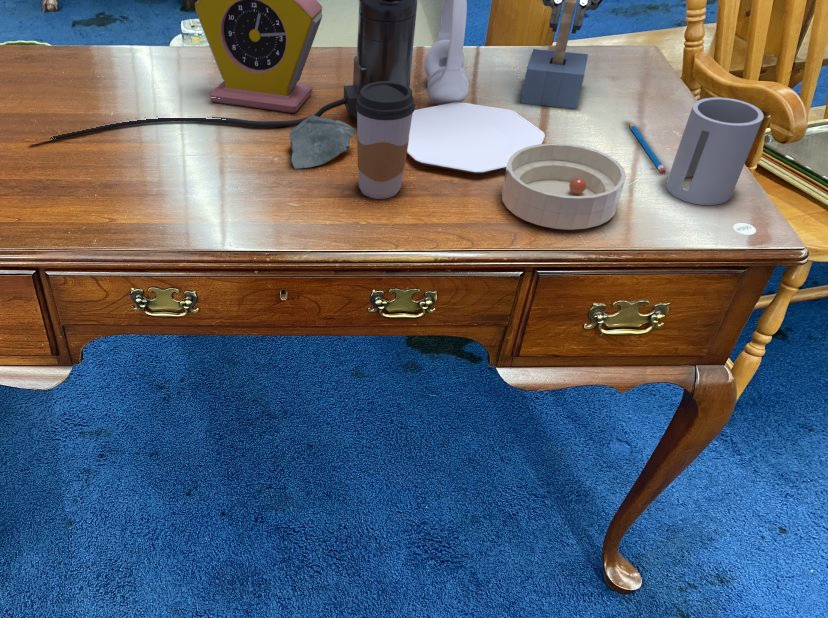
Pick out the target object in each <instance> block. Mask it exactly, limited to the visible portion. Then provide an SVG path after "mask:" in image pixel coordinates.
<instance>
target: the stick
mask: <svg viewBox="0 0 828 618" xmlns="http://www.w3.org/2000/svg"><path fill="white" fill-rule="evenodd" d="M577 1H578V0H564V5H563V8H562V9H563V10H562V12H561V19H560V23H559V28H558V33H557V38H556V43H555V46H554V51H555V52H554V56H553V61H552V64H559V65H563V61H564V56H565V52H567V47H568V43H569V37H570V33H571V30H572V25H573V21H574V16H575V12H576V7H577V6H576V5H577Z"/></svg>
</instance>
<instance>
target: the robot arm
mask: <svg viewBox="0 0 828 618" xmlns="http://www.w3.org/2000/svg"><path fill="white" fill-rule="evenodd" d="M603 1H604V0H578V5H577V6H576V9H575V14H574V18H573V23H572V27H571V34H573V35H574V34H577V31H581V29H582V27H583V22H584V17H585V15H586V12H587V11H590V10H591V11H596V10H597V9H598V8H599V7H600V5H601V4H602V3H603ZM563 2H564V0H542V4H543V6H544V7H550V8H551V14H550V19H549V24H548V25H549V28H550V29H551V32H552V33H553V32H554V33H557V30H558V26H559V21H560V16H561V14H562V9H563V8H562V7H563ZM417 10H418V0H358V17H357V18H358V21H357V24H358V25H357V42H356V55H355V56H354V57H353V73H352V74H353V75H352V84H351V85H350V84H349V85H343V98H341V99H338V100H334V101H332V102H330V103H327V104H326V105H324V106H322V107H320V109H318V110H317V112H315V113H313V115H315V116H317V117H322V115H324V114H326V112H327V111H330V110H332V109H335V108H338V107H341V106H343V105H344V107H345V109H346V112H347V115H348V116H353V119H354V120H355V123H357V110H356V104H357V98H358V96H359V95H360V91H361V88H362V87H363V86H365V85H367V84H370V83H373V82H379V81H392V82H398V83H402V84H405V85H407V86H408V87H410V88H411V79H412V78H411V76H412V68H413V67H412V66H413V54H414V45H415V43H414V42H415V33H416V22H417V21H416V20H417ZM310 116H311V115H309V116H306V117H303V118H299V119H293V120H292V119H291V120H266V121H265V120H263V121H262V120H249V119H241V118H232V117H224V116H223V117H221V116H211V117H212V118H221V119H206V118H158V119H146V120H137V121H129V122H122V123H116V124H110V125H105V126H100V127H96V128H91V129H86V130H82V131H77V132H72V133H67V134H62V135H58V136H53V138H54V139H55V138H56V139H57V140H63V139H66V138H73V137H76V136H82V135H85V134H90V133H96V132H99V131H104V130H105V131H106V130H111V129H115V128H121V127H127V126H135V125H143V124H154V123H171V122H173V123H174V122H176V123H177V122H186V123H187V122H189V123H191V122H194V123H211V124H212V123H213V124H227V125H237V126H242V127H252V128H287V127H296V126H298V125H299V124H300V123H301V122H302V121H304V120H305V119H307V118H308V117H310ZM222 119H226V120H222ZM51 138H52V137H51ZM51 138H50V139H51ZM53 138H52V139H53ZM54 139H53V141H57V140H56V139H55V140H54Z"/></svg>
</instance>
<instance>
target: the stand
mask: <svg viewBox="0 0 828 618" xmlns="http://www.w3.org/2000/svg"><path fill="white" fill-rule="evenodd" d="M554 52H555V50H548V49H538V48H537V49H535V48H532V51H531V54H530V57H529V61H528V63H527V67H526V69H525V75H524V81H523V85H522V86H523V87H522V92H521V97H520V104H529V105H535V106H536V105H537V106H545V107H546V106H547V107H556V108H564V109H571V110H576V109H577V108H578V102H579V98H580V95H581V91H582V86H583V82H584V78H585V74H586V73H585V72H586V68H587V62H588V57H589V54H588V53H581V52H580V53H579V52H570V51H566V52H565V56H564V61H563V65H559V64H552V61H553V56H554Z"/></svg>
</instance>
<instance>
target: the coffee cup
mask: <svg viewBox="0 0 828 618" xmlns="http://www.w3.org/2000/svg"><path fill="white" fill-rule="evenodd" d="M415 101H416V100H415V96H414V95H413V89H412V88H411V86H410V87H408V86H407V85H405V84H402V83H398V82H392V81H379V82H373V83H370V84H367V85H365V86H363V87H362V88H361V91H360V95H359V96H358V98H357V104H356V110H357V122H356V125H357V126H356V127H357V136H356V148H357V149H356V151H357V170H358V171H357V173H358V188H359V190H360V192H361V193H362V195H364V196H366V197H368V198H371V199H376V200H377V199H378V200H385V199H390V198H393V197H395V196H396V195H397V194H398V193H399V191H400V190H401V188H402V183H403V182H402V181H403V175H404V171H405V167H406V166H405V165H406V161H407V155H408V154H407V149H408V143H409V133H410V127H411V120H412V114H413V112H414V110H416V106H415V104H416V103H415Z"/></svg>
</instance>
